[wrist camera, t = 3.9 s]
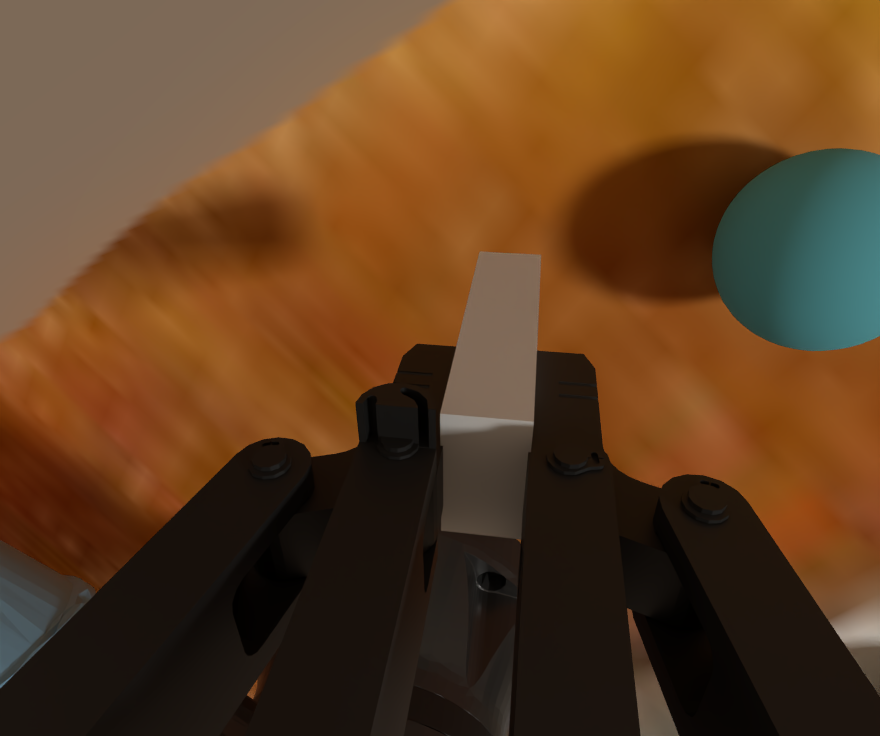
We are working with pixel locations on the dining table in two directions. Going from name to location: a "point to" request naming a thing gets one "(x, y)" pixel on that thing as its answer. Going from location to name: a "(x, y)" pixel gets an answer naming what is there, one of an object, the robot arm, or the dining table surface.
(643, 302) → the dining table surface
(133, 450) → the dining table surface
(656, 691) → the dining table surface
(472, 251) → the dining table surface
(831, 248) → the ball
